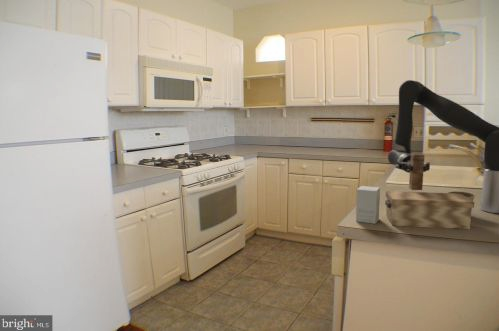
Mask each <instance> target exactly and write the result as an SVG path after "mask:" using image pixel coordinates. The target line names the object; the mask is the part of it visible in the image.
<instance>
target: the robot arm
mask: <svg viewBox="0 0 499 331" xmlns="http://www.w3.org/2000/svg"><path fill="white" fill-rule="evenodd" d="M415 103H416V104H418V105H420V106H422V107H424V108H426V109H427V110H429V111H430V112H431V113H432V114H433V115H434V116H435V117H437V118H438V119H439V120H440V121H441V122H443V123H444V124H447V125H448V126H450V127H452V128H454V129H456V130H459V131H461V132H463V133H467V134H469V135H472V136H473V137H476V138H477V139H479V140H480V141H482V142H483V143H484V152H483V154H484V155H483V164H484V167H483V178H482V179H483V180H482V188H481V197H480V198H481V200H480V211H484V212H487V213H492V214H499V126H496V125H494V124H493V123H490V122H488V121H487V120H484V119H483V118H482V117H480V116H479V115H477V114H476V113H475V112H473V111H471V110H469V108H466V107H464V106H463V105H461V104H459V103H457V102H455V101H453V100H451V99H450V98H447V97H444V96H441V95H439V94H438V93H435V92H434V91H433V90H431V89H429V88H428V87H427V86H425V85H424V84H422V83H421V82H420V81H417V80H410V79H409V80H404V82H402V83H401V84H400V86H399V88H398V117H397V126H396V131H395V137H394V143H395V145H397V146H400V147H403V148H404V150H402V149H401V150H400V149H392V150H390V151H389V152H388V154H387V160H388V163H389V164H391V165H394V166H395V169H398V170H402V171H404V172H406V173H408V174H410V171H411V172H413V168H414V167H413V166H412V165H410V162H411V154H412V145H411V144H412V136H413V128H414V123H413V122H414V121H413V119H414V118H413V112H414V111H413V109H414V104H415ZM430 167H431V162H424V168H423V173H426V172H427V171H430V169H431V168H430Z"/></svg>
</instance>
